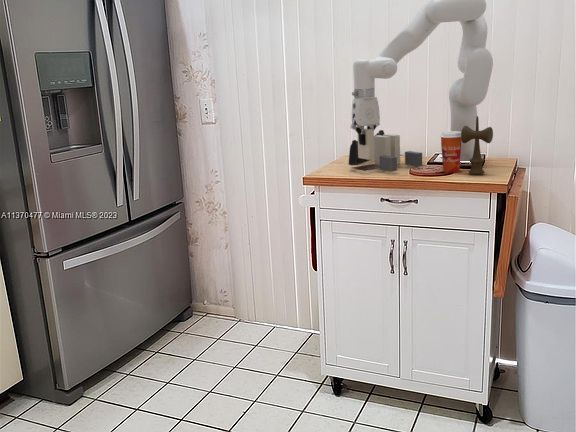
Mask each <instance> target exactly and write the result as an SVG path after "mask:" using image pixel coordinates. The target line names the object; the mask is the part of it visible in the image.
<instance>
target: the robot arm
mask: <svg viewBox="0 0 576 432" xmlns="http://www.w3.org/2000/svg"><path fill="white" fill-rule="evenodd" d="M486 10H487V2H486V0H428V1H427V2H426V3H425V4H424V5H423V6H422V7H421V8H420V9H419V11H418V12H417V13H416V14H415V15H414V16H413V17H412V18H411V20H410V21H409V22H408V23H407V24H406V25H405V26H404V27H403V28H402V29H401V31H399V32H398V33H397V35H395V37H394V38H393V39H392V40H391V41H390V42H389V43H388V44H387V45H386V46H385V47H384V48H383V49H382V50H381V52H379V53H378V55H377V56H376V57H375V58H374V59H371V58H361V59H355V60H354V61H353V64H352V71H353V91H352V92H351V96H353V98H352V103H351V114H350V115H351V124H350V129H352V130H353V131H355V132H356V133H357V135H358V134H359V144H360V145H365V144H366V138H365V134H364V128H365V126H366V129H374V131H375V130H376V129H377V128H378V127H379V126H380V125H381V123H380V122H381V116H380V115H381V114H380V105H379V100H378V97H377V96H376V87H375V86H376V84H375V82H376V81H375V79H384V80H385V79H386V80H387V79H391V78H393V77H394V76H395V75H396V73H397V71H398V63H399V62H401V60H402V59H403V58H404V57H405V56H407V55H408V54H410V53H411V52H414V51H415V50H417V49H418V48H419V47H420V46H421V45H422V44H423V43H424V42H425V41H426V40H427V39H428V37H429V36H431V34H432V33H433V32H434V31H435V30H436V29H437V28H438V26H439V25H440V24H442V23H454V22H459V23H460V26H461V29H462V37H461V44H460V48H459V52H458V58H457V68H458V70H459V71H460V73H462V74H463V77H460V78H458V79H455V80H454V81H453V82H452V84H451V85H450V86H449V90H448V100H449V108H450V109H449V110H450V131H459V132H461V131H462V129H463V127H464V126H468V127H469V128H471V129H472V130H474V131H476V117H477V116H478V108H477V106H479V105H481V103H482V102H484V101H485V99H486V98H487V97H486V96H487V93H488V90H489V86H490V82H491V76H492V71H493V68H494V67H493V66H494V58H493V55H492V53H491V51H490V50H488V48H486V46H487V45H486V44H487V38H488V24H487V23H488V22H487V20H486V18H485V16H484V15H485V12H486ZM474 145H475V139H472V140H470V141H468V142H467V143H463V142H462V140H461V155H460V161H470V160H471V159H472V157H473V152H474ZM481 157H482V159H483V160H484V155H481ZM468 166H470V167H471V163H469V164H461V163H460V167H468Z"/></svg>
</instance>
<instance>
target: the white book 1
mask: <svg viewBox="0 0 576 432" xmlns="http://www.w3.org/2000/svg"><path fill="white" fill-rule="evenodd" d="M364 134H365V138H366V144H365V145H360V144H359V134H357V141H358V158H362V159H367V160H368V161H371V160H375V158H374V136H375V130H374V129H367V128H365V127H364Z"/></svg>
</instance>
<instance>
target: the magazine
mask: <svg viewBox="0 0 576 432" xmlns="http://www.w3.org/2000/svg"><path fill="white" fill-rule="evenodd" d="M384 134H385V131H384V129H380V130H378V132H377V133H376V134H374V136H377V135H381V136H383V135H384ZM374 158H375V157H374ZM368 161H369V160H367V159H362V158H358V140H356V139H352V141H351V144H350V146H349V155H348V165H349V166H356V165H360V164H363V163H365V162H368Z"/></svg>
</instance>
